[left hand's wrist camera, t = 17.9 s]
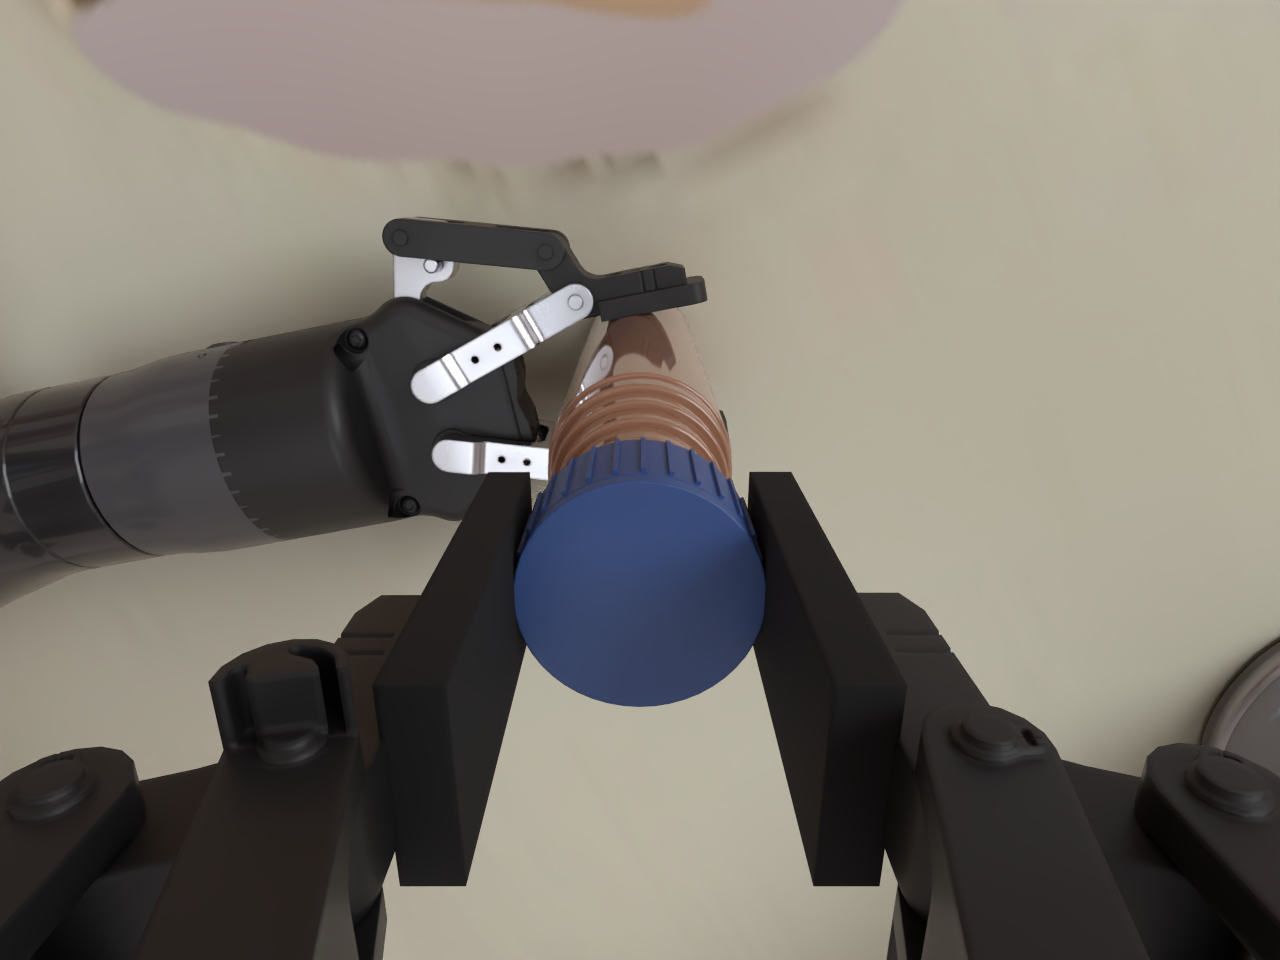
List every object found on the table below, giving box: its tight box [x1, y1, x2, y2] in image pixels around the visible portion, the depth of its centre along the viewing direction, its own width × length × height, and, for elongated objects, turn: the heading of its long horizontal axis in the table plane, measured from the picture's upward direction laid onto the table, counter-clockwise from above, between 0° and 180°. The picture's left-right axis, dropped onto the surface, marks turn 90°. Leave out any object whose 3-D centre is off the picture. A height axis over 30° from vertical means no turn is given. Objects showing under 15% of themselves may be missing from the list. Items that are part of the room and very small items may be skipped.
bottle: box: [548, 308, 732, 481], centre depth 23 cm, size 4×4×23 cm
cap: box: [514, 437, 766, 707], centre depth 13 cm, size 4×4×2 cm
